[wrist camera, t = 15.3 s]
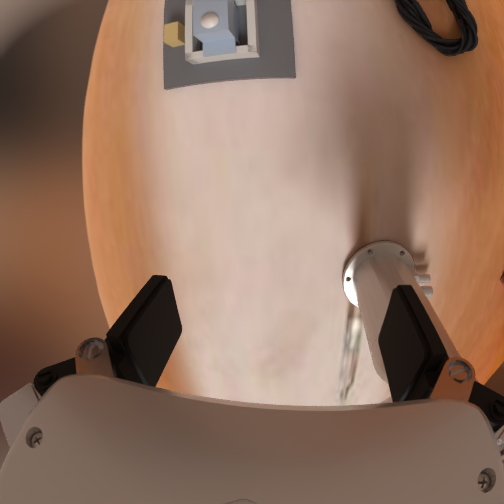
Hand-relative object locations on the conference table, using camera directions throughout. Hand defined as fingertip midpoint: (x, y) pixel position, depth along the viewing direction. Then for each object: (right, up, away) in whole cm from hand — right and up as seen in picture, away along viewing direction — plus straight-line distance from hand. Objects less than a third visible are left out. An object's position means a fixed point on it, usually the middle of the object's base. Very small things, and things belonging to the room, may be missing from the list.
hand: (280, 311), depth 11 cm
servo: (-5, +32, +16) cm, 36 cm away
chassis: (-5, +32, +16) cm, 37 cm away
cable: (+26, +39, +9) cm, 48 cm away
